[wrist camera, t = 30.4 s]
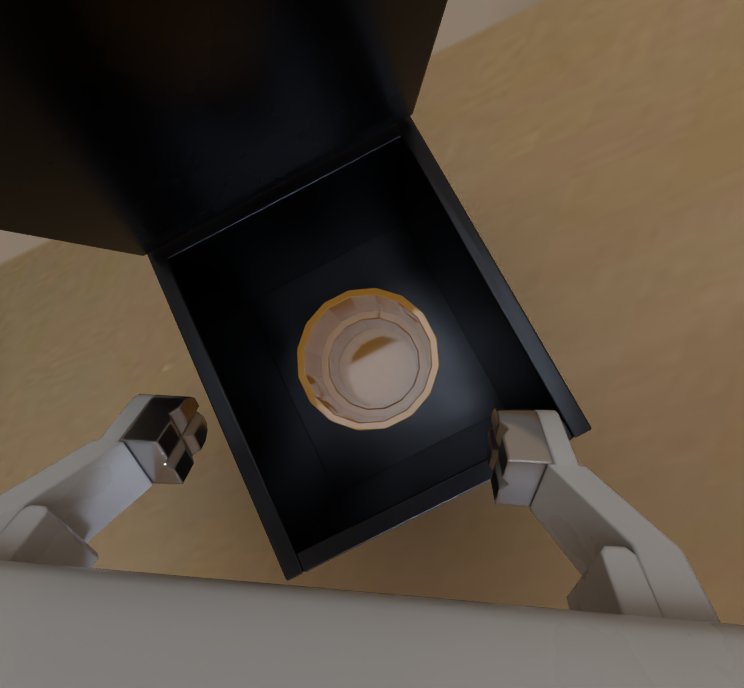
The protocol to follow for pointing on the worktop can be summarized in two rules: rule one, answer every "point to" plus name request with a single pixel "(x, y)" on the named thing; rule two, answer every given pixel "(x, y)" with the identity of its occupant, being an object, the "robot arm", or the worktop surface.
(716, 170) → the worktop surface
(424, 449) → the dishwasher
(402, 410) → the golden yellow cup
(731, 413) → the worktop surface
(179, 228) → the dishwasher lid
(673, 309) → the worktop surface
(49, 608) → the robot arm
